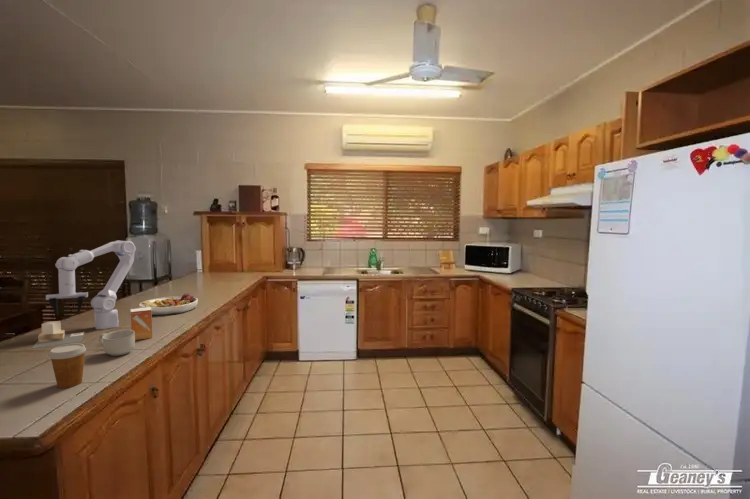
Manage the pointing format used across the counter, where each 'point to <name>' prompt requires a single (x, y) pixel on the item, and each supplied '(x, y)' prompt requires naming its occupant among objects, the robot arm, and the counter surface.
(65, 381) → the disposable coffee cup
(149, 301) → the bowl
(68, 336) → the board
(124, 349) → the teacup
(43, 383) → the counter surface
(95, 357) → the counter surface
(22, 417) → the counter surface
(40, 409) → the counter surface
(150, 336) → the small box
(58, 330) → the cream cube
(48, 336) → the oak base brick
